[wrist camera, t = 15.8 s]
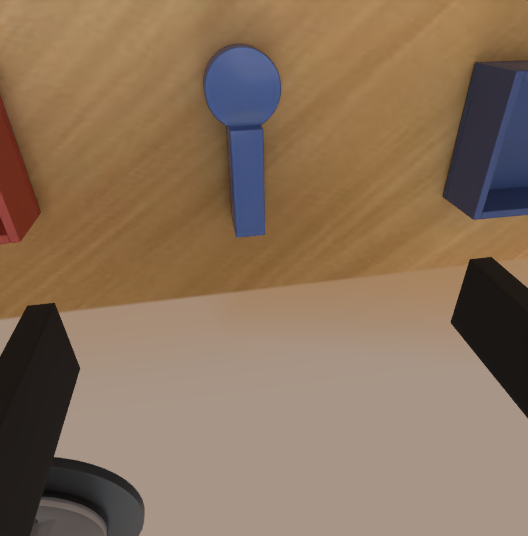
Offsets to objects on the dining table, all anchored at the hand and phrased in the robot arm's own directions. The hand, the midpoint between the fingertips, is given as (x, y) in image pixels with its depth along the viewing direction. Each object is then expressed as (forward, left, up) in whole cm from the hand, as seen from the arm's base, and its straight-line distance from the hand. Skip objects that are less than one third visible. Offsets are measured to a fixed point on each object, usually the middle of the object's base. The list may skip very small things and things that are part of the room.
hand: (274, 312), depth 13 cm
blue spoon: (+1, +1, -14) cm, 14 cm away
